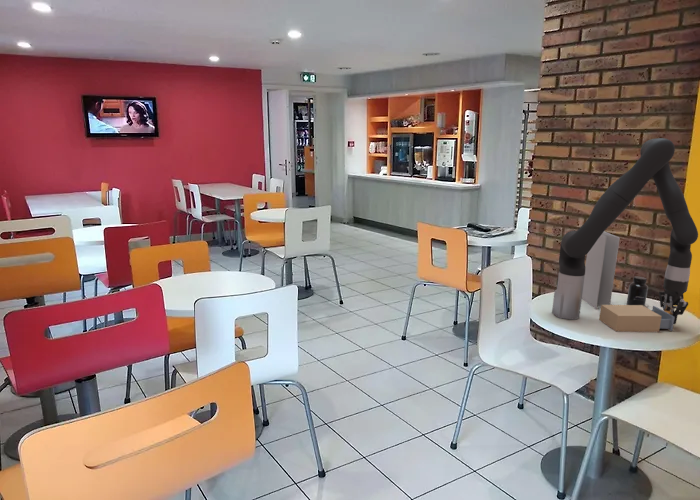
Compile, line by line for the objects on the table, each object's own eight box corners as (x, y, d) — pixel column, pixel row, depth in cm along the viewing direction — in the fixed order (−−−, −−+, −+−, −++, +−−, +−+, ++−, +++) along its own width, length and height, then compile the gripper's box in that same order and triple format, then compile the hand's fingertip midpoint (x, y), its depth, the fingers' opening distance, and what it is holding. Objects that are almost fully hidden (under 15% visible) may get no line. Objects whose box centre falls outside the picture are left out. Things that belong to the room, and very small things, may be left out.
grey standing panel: (609, 309, 209) (620, 237, 203) (596, 309, 209) (606, 237, 203) (593, 298, 223) (603, 230, 217) (581, 298, 223) (590, 230, 217)
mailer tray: (629, 330, 186) (631, 316, 185) (612, 318, 198) (613, 305, 196) (683, 331, 187) (685, 317, 186) (662, 319, 198) (664, 306, 197)
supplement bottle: (637, 308, 212) (641, 280, 209) (622, 303, 218) (626, 276, 215) (648, 306, 214) (653, 279, 212) (634, 301, 220) (638, 274, 218)
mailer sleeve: (615, 331, 186) (618, 315, 185) (599, 319, 198) (601, 304, 196) (659, 331, 186) (661, 316, 185) (639, 320, 198) (642, 305, 197)
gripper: (655, 272, 195) (648, 315, 199) (679, 283, 181) (671, 329, 185) (674, 272, 195) (666, 315, 199) (700, 283, 182) (691, 329, 186)
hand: (669, 321), depth 192 cm, fingers closed on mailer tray, 3 cm apart
